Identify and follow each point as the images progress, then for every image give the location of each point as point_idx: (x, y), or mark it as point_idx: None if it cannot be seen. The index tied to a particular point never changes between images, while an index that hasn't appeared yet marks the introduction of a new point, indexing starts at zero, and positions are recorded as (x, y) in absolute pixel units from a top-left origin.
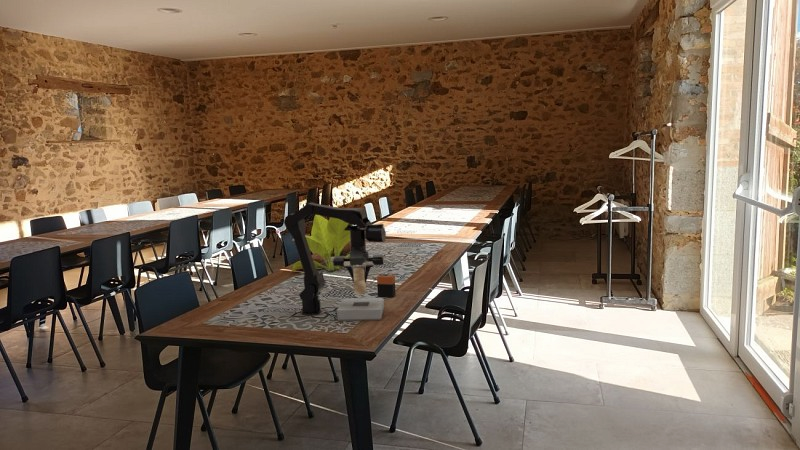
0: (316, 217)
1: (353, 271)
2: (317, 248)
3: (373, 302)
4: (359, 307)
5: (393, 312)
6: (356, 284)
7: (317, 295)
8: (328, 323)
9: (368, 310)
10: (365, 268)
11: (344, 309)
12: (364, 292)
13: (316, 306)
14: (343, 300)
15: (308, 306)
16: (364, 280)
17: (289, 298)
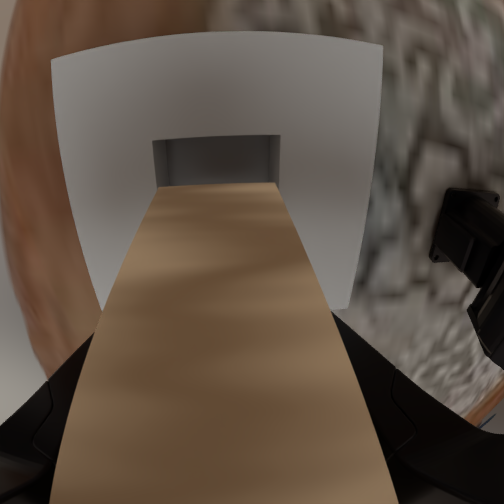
0: None
1: (371, 431)
2: None
3: (133, 233)
4: (216, 101)
5: (49, 209)
6: (259, 235)
7: (484, 282)
8: (396, 19)
9: (135, 41)
10: (13, 491)
11: (333, 57)
12: (160, 195)
13: (469, 221)
14: (346, 282)
15: (499, 211)
16: (120, 289)
17: (472, 363)
